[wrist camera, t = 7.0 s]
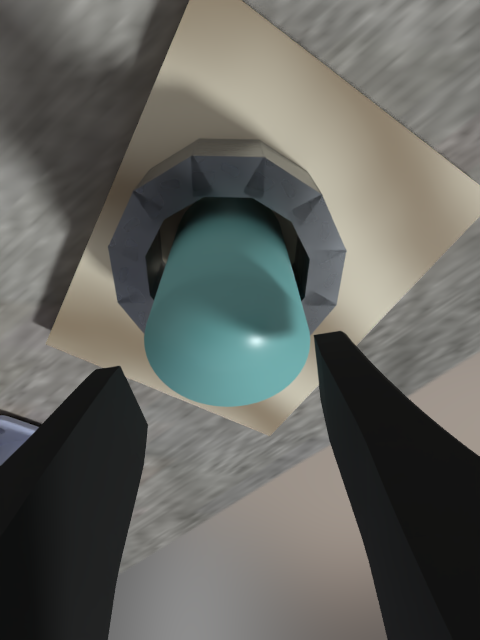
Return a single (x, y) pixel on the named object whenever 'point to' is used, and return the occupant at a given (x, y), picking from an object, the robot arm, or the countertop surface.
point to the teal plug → (227, 307)
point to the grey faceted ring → (226, 181)
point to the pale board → (328, 174)
